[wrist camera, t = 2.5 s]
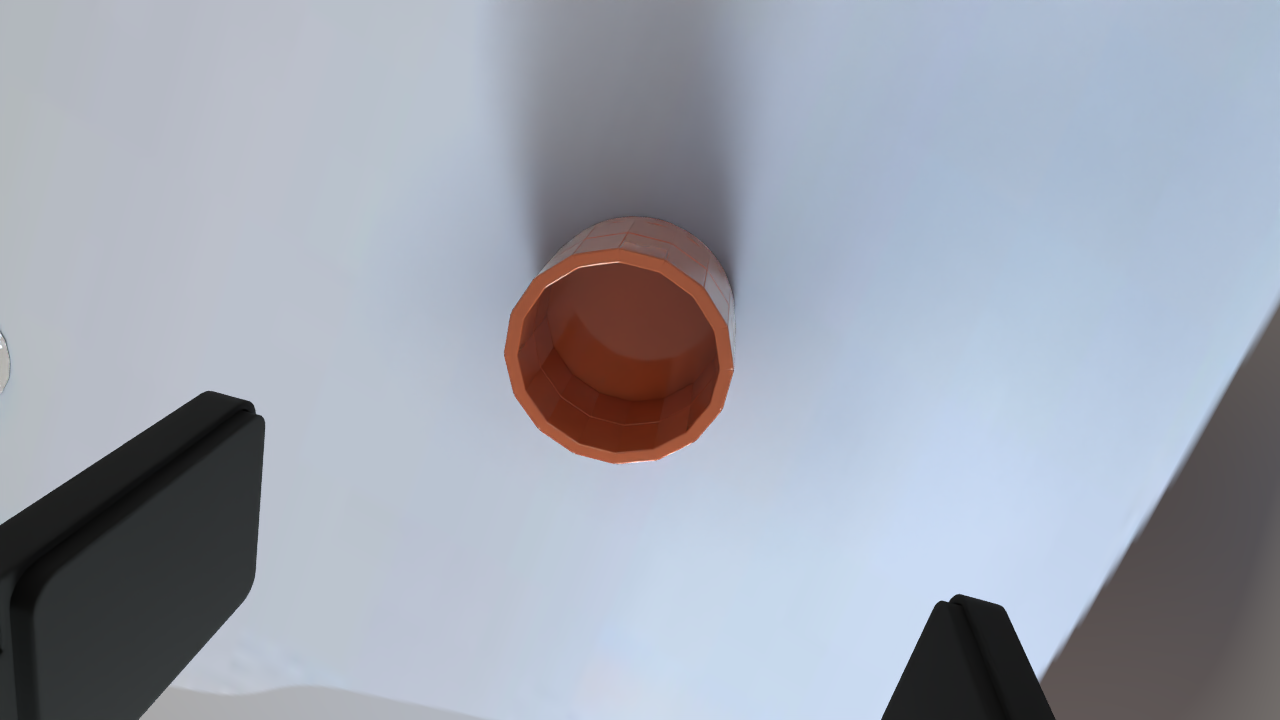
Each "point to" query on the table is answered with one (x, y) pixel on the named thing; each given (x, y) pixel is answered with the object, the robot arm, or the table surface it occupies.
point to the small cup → (624, 341)
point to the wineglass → (3, 364)
